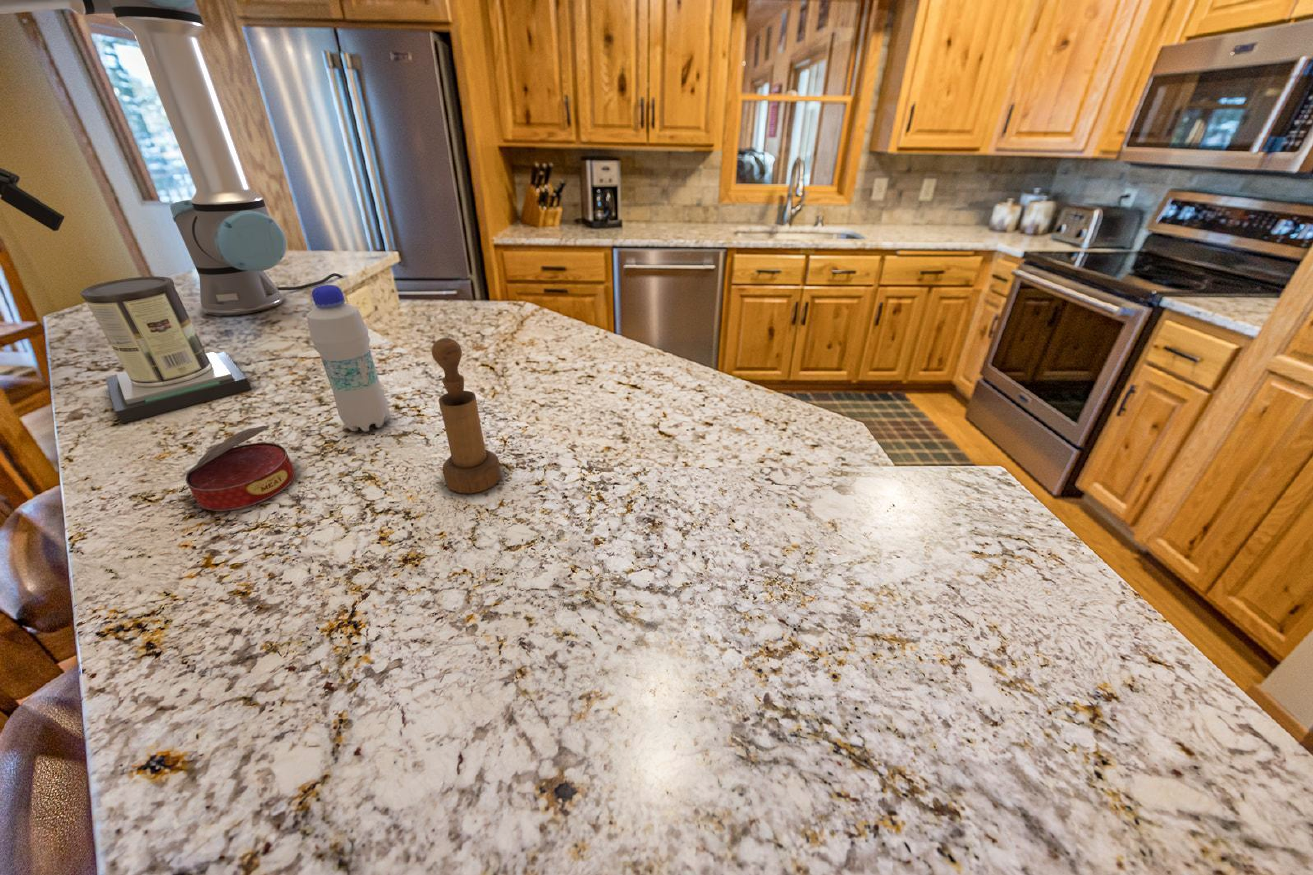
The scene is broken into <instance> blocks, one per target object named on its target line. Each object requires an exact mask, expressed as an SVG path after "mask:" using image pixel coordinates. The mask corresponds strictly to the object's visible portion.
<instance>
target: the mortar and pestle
mask: <svg viewBox="0 0 1313 875" xmlns="http://www.w3.org/2000/svg"><path fill="white" fill-rule="evenodd" d="M462 351H463V350H462V348H461V346H460V344H459V343H458V342H457V340H456V339H454V338H450V337H443V338H439V339H437V340H436V341H435V342H433V344H432V346H431V356H432V358H433V360H434V361H435V362H436V363H437V365H438V366H439V367H440V368H441V369H442V370H443V372H444V377H443V378H442V379H441V382H442V385H443V387H444V388H445V390H446V392H447V393H445V394H442V395H441V396H440V397H439V398H438V405H439V408H440V412H441V417H442V420H443V425H444V429H445V433H446V437H447V443H448V447H449V451H450V456H449V457H448V458H447V459H446V460H445V461H444V463H443V465H442V474H443V478H444V483H445V485H446V487H447V488H448V489H449V490H451V491H452V492H455V493H459V494H475V493H480V492H484V491H486V490H489V489H490V488H492V487H494V486H495V485H496V484H497V483H499V481H500V480H501V477H502V470H501V467H500V466H501V465H500V462H499V458H498V455H496V454H495V453H494V452H493V451H491V450H488V449H487V448H486V446H485V440H484V435H483V431H482V424H481V419H480V412H479V407H478V403H477V398H476V397H477V396H476V394H475V392H473V391H470V390H464V389H465V377H464V376H463V375H462V374H460V373H459V364H460V363H461V359H462V356H463V352H462Z"/></svg>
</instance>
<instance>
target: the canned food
mask: <svg viewBox="0 0 1313 875" xmlns="http://www.w3.org/2000/svg"><path fill="white" fill-rule="evenodd" d="M269 428H270V425H261V426H256V427H250V428H247V429H244V430H241V431H238V432H236V433H235V434H232V435H230V436H229V437H228V438H227V439H225V440H224V441H223V442H219V443H217V444H213V445H212V447H211V448H209V449H208V450H207V451H206V452H205V453H204V454H203V455H202V456H201V457H200V459H199V460H198V461H197V463H196V464H195V465H193V466H192V467H191V468H190V469H188V470H186V471H185V472H183V473H182V475H181V476H179V478H183V477H185V484H186V485H187V486H188V488H189V489H190V491H191V493H192V495H193V497H194V498H195V500H196V502H197V505H198V506H200V507H201V508H202V509H205V510H208V511H213V512H226V511H234V510H239V509H240V510H241V509H244V508H247V507H251V506H254V505H256V504H260V503H262V502H265V501H266V500H268V499H271V498H273V497H275V496H276V495H279V494H280V493H281V492H282V491H284V490H285V489H286V488H287V487H288V486H290V484H291V483H292V481H294V478H295V476H296V470H295V469H294V467H293V464H292V462H291V460H290V457H289V455H288V453H287V449H286V448H284V447H283V446H282V445H280V444H278V443H273V442H253V443H247V444H242V443H245V442H246V441H248V440H250V439H252V438H254V437H256V436H257V435H259V434H260V433H263V432H264V431H266V430H268V429H269Z"/></svg>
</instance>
